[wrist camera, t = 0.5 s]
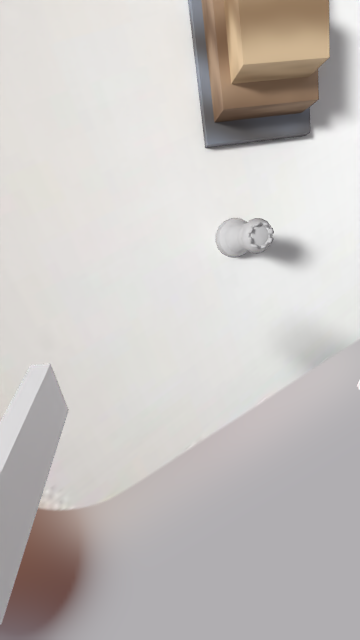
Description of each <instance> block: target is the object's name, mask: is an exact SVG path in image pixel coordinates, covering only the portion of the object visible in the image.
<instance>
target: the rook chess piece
mask: <svg viewBox="0 0 360 640" xmlns="http://www.w3.org/2000/svg"><path fill="white" fill-rule="evenodd" d="M273 233H274V231H273V228H271V226H270V225H269V223H268V222H267V221H265V220H263V219H260V218H255V219H252V220H250V221H249V222H246V221H244V220H242V219H238V218H231V219H228V220H226V221H224V222H223V223H222V224H221V225H220V226H219V227H218V230H217V232H216V244H217V247H218V249H219V250H220V251H221V253H222V254H224V255H226V256H228V257H236V256H241V255H243V254H245V253H246V252H247V251H250V252H252V253H260V252H262V251H265V250H266V249H267V248H268V247H269V245H270V243H272V241H273V238H272V236H273Z"/></svg>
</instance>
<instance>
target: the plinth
mask: <svg viewBox="0 0 360 640" xmlns="http://www.w3.org/2000/svg"><path fill="white" fill-rule="evenodd" d="M188 4H189V13H190V21H191V30H192V38H193V47H194V56H195V64H196V73H197V81H198V90H199V98H200V107H201V115H202V124H203V132H204V141H205V148H208V147H216V146H224V145H233V144H241V143H249V142H257V141H266V140H274V139H282V138H290V137H299V136H305V135H307V134H308V133H310V109H309V107H310V106H311V105H312V104H314V103H315V102H316V101H317V100H319V92H318V68H319V67H320V66H321V65H322V64H323V63H324V62H325V61H326V60H327V59H328V58H330V55H329V0H188Z"/></svg>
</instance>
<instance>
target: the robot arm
mask: <svg viewBox="0 0 360 640" xmlns="http://www.w3.org/2000/svg"><path fill="white" fill-rule="evenodd" d="M357 387H358V388H359V389H360V380H359V382H358V384H357ZM67 413H68V407H67V405H66V402H65V400H64V397H63V395H62V392H61V389H60V387H59V384H58V382H57V379H56V377H55V374H54V371H53V369H52V366H51V364H40V365H30V367H29V369H28V371H27V373H26V375H25V377H24V378H23V380H22V382H21V384H20V386H19V388H18V390H17V391H16V393H15V395H14V397H13V399H12V401H11V403H10V404H9V406H8V408H7V410H6V412H5V414H4V416H3V418H2V419H1V421H0V624H1V623H2V620H3V617H4V614H5V611H6V607H7V604H8V601H9V598H10V595H11V592H12V588H13V585H14V582H15V579H16V576H17V573H18V569H19V566H20V563H21V560H22V556H23V553H24V550H25V547H26V543H27V541H28V538H29V534H30V531H31V528H32V525H33V522H34V518H35V515H36V512H37V509H38V506H39V503H40V499H41V496H42V493H43V490H44V487H45V483H46V480H47V477H48V474H49V471H50V468H51V464H52V461H53V458H54V455H55V452H56V448H57V445H58V442H59V439H60V436H61V433H62V429H63V426H64V423H65V420H66V417H67Z"/></svg>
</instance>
